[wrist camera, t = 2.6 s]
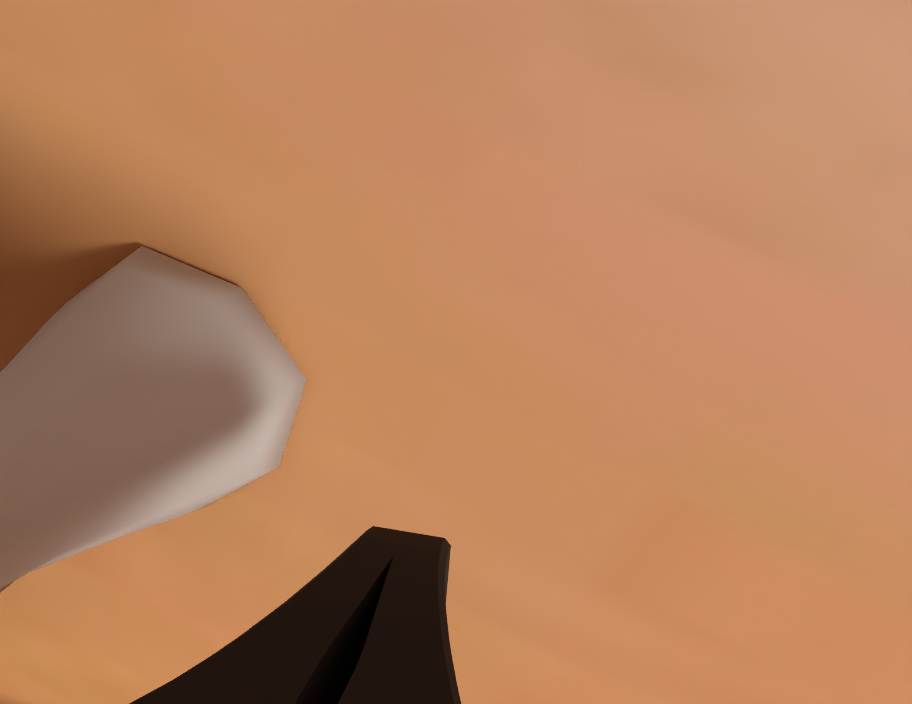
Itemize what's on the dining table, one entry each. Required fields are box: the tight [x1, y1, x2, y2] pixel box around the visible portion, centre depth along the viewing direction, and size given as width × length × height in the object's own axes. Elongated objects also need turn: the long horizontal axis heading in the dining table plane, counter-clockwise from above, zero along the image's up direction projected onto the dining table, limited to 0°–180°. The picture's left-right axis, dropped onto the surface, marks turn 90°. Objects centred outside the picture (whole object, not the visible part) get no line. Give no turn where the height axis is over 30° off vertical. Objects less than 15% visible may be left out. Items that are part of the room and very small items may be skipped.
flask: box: [0, 246, 307, 589], centre depth 13 cm, size 7×7×10 cm
